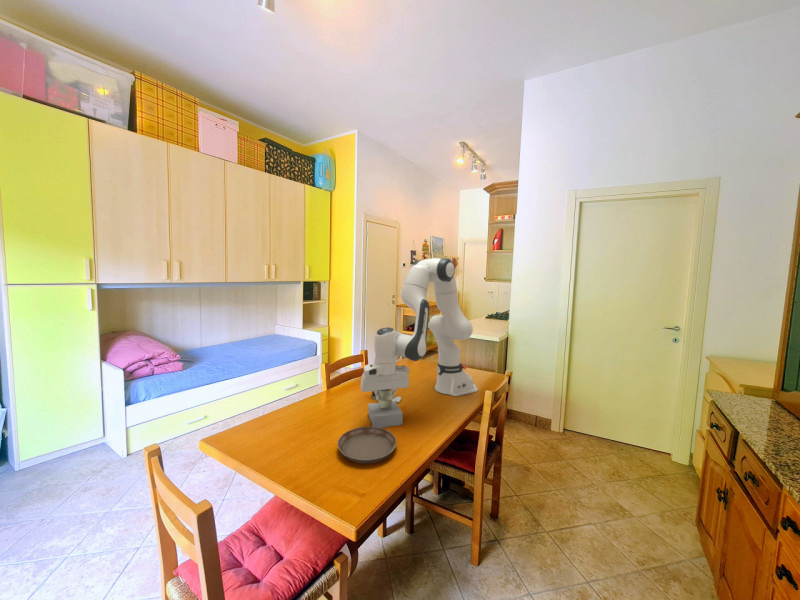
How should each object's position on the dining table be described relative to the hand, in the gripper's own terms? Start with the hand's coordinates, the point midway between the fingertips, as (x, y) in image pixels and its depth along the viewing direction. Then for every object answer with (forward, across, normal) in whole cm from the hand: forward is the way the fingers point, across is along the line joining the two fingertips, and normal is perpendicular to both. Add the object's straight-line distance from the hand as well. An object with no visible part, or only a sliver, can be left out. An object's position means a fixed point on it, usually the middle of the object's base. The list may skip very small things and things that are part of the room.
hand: (385, 399), depth 131 cm
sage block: (+3, 0, 0) cm, 3 cm away
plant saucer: (+10, +11, +19) cm, 24 cm away
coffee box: (+9, -4, -23) cm, 25 cm away
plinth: (+9, 0, 0) cm, 9 cm away
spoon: (+10, -4, -12) cm, 16 cm away
